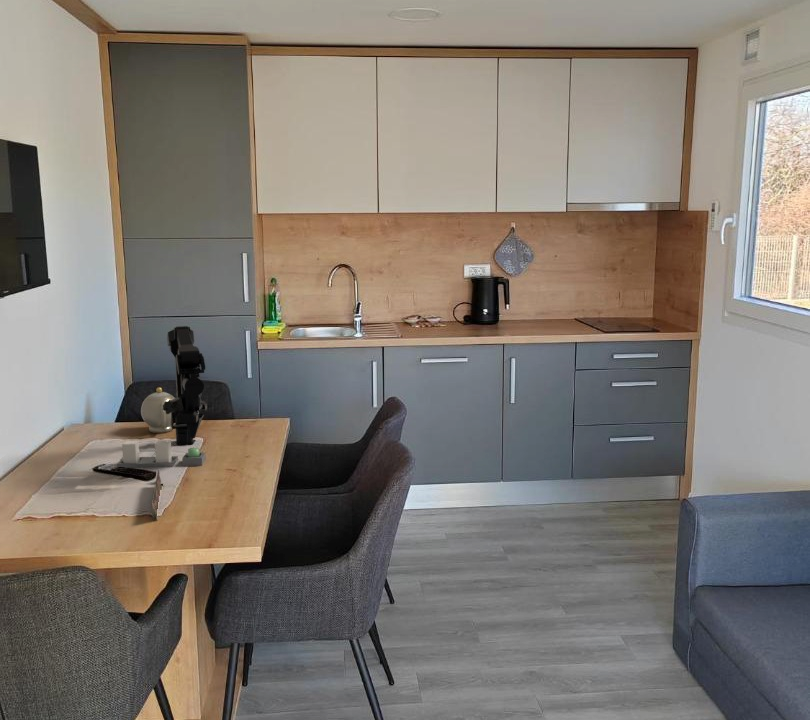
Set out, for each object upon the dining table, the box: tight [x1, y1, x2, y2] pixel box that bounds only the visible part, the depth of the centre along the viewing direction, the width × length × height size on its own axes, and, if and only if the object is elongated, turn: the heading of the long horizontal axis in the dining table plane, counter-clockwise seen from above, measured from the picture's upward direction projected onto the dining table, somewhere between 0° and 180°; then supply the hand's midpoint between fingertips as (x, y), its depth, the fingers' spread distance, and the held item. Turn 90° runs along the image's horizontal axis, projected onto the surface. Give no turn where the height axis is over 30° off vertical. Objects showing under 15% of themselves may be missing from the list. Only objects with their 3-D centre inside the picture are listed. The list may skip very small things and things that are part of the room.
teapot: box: [140, 387, 176, 434], centre depth 294 cm, size 18×14×16 cm
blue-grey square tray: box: [119, 449, 155, 461], centre depth 262 cm, size 10×10×1 cm
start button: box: [187, 447, 200, 457], centre depth 253 cm, size 3×3×3 cm
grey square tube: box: [181, 452, 207, 467], centre depth 253 cm, size 6×6×4 cm
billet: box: [121, 440, 141, 463], centre depth 252 cm, size 4×4×7 cm
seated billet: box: [154, 439, 173, 463], centre depth 252 cm, size 4×4×7 cm
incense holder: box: [151, 470, 164, 522], centre depth 221 cm, size 30×1×5 cm, turn 14°
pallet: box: [116, 455, 179, 469], centre depth 253 cm, size 8×17×2 cm, turn 93°
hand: (193, 438), depth 252 cm, fingers closed
